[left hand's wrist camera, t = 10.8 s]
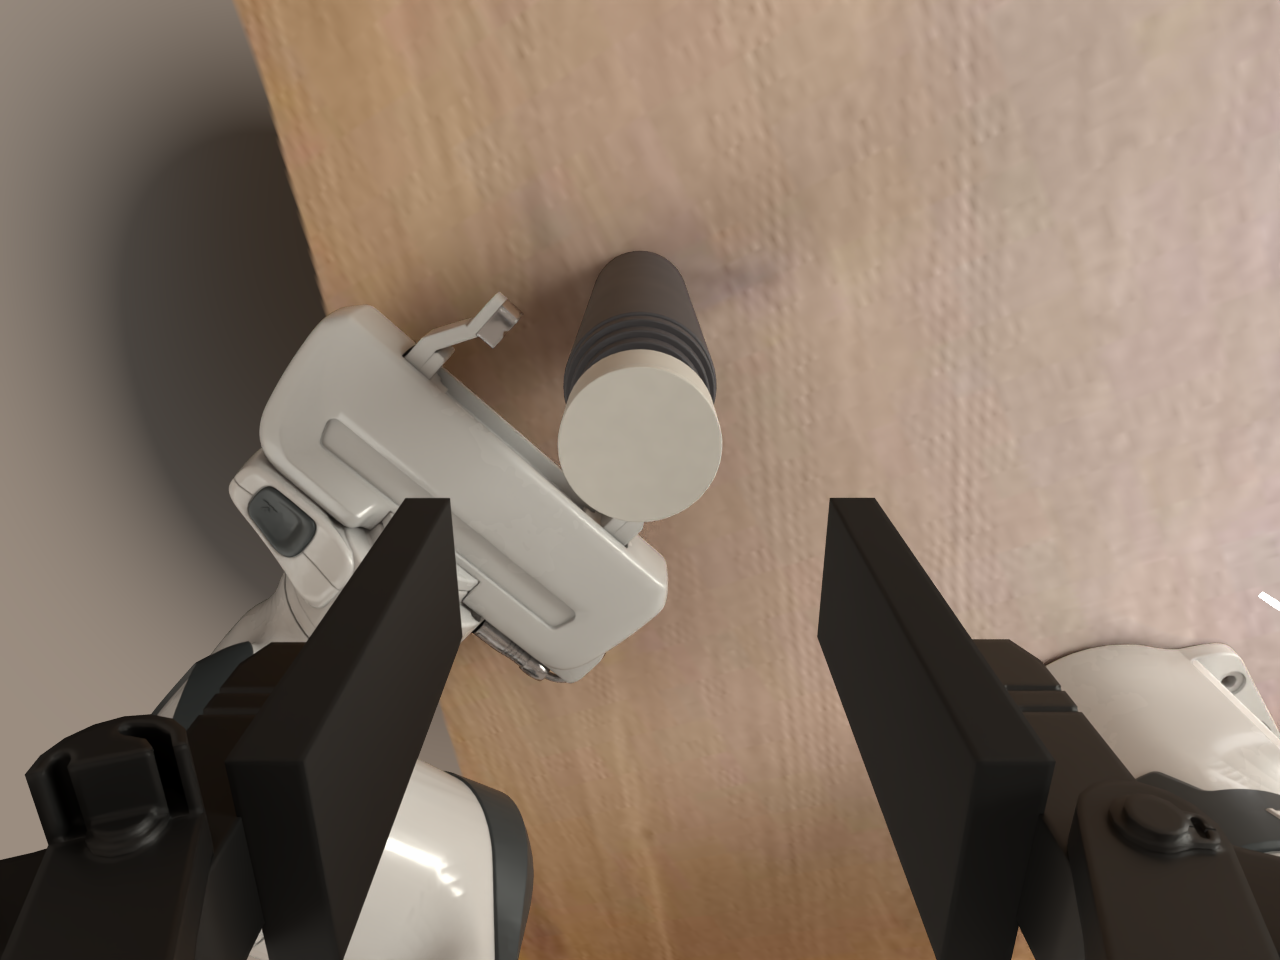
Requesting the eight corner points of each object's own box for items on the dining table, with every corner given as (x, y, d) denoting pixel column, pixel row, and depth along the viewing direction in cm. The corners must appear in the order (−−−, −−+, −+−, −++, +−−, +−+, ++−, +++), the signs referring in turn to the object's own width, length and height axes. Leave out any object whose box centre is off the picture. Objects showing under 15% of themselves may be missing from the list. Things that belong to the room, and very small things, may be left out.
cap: (545, 369, 22) (537, 389, 20) (697, 332, 21) (702, 348, 20) (587, 507, 23) (582, 538, 21) (729, 474, 23) (737, 502, 21)
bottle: (582, 264, 41) (521, 375, 20) (675, 240, 41) (712, 328, 20) (606, 355, 43) (574, 545, 22) (696, 333, 42) (750, 505, 21)
